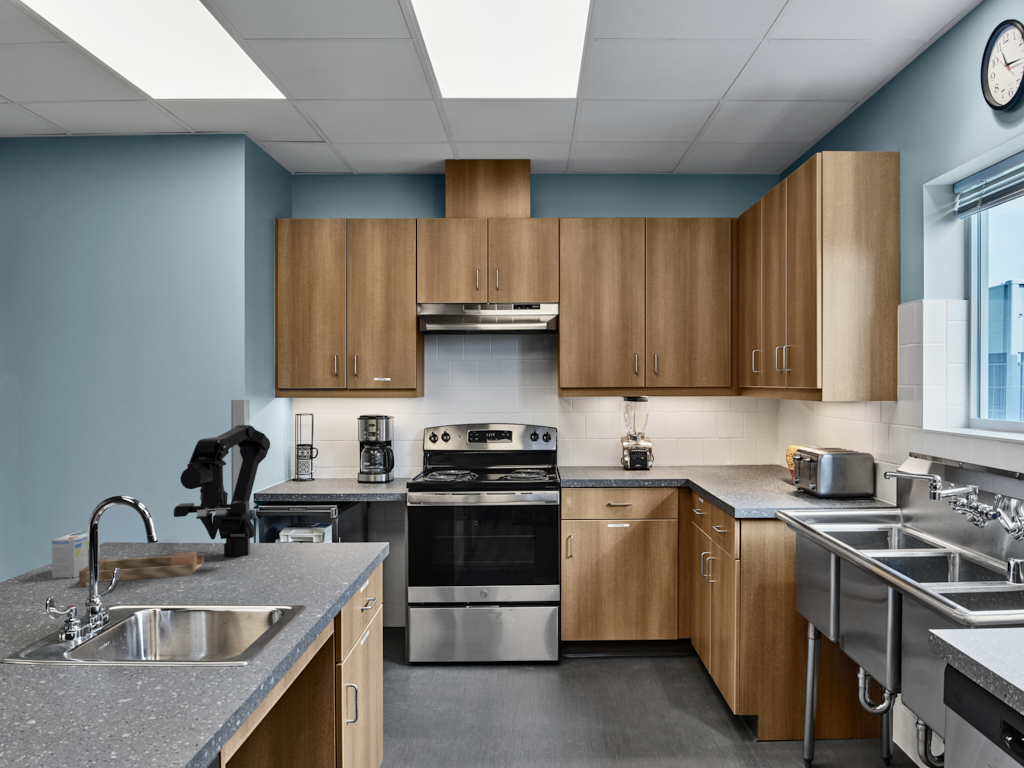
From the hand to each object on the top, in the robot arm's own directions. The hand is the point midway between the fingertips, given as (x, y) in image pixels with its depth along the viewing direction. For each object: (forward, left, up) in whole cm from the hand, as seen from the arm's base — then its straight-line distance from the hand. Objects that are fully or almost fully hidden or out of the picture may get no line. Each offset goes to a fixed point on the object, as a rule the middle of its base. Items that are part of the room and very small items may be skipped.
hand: (213, 539), depth 180 cm
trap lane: (+18, 0, -9) cm, 20 cm away
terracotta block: (+8, 0, -8) cm, 11 cm away
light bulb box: (+38, -9, -9) cm, 40 cm away
